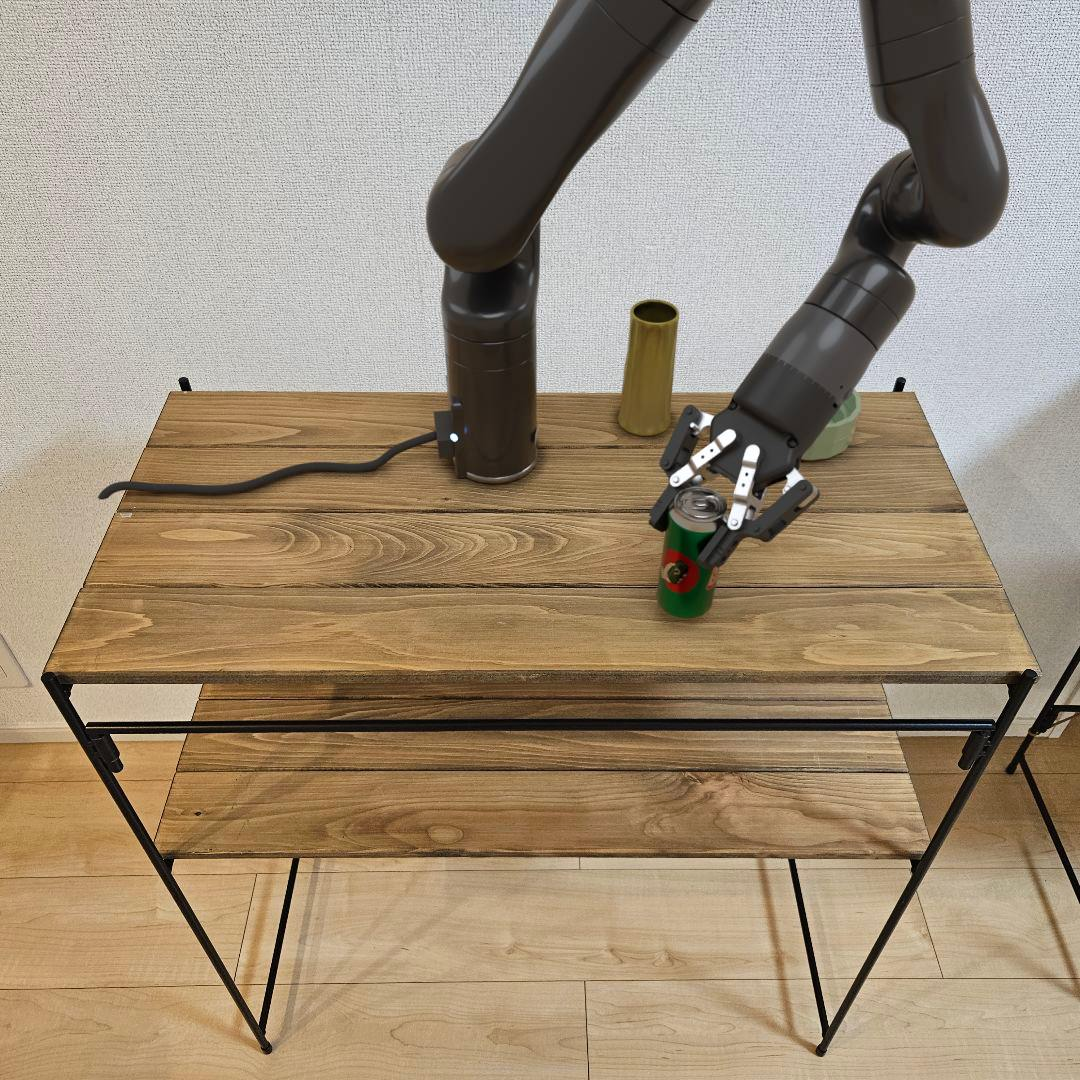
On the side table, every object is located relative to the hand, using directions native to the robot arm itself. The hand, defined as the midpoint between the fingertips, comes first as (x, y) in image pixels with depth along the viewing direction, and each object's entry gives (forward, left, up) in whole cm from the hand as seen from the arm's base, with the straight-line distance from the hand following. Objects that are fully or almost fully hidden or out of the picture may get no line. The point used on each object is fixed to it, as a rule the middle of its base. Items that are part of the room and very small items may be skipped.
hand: (679, 546), depth 74 cm
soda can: (+2, +1, -8) cm, 9 cm away
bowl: (+23, +26, -10) cm, 36 cm away
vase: (+6, +31, -10) cm, 33 cm away
